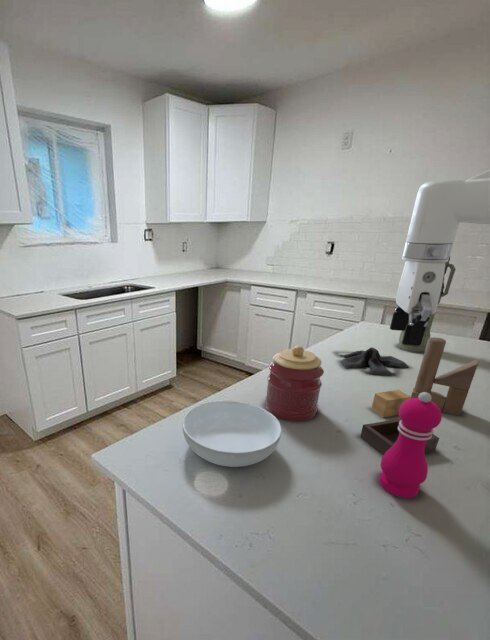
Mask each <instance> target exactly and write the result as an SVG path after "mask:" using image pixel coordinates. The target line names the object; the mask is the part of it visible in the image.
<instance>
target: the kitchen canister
mask: <svg viewBox="0 0 490 640" xmlns="http://www.w3.org/2000/svg"><path fill="white" fill-rule="evenodd" d="M321 365H322V360H321V358H320V357H318V356H317V355H316V354H315V353H313V352H311V351H308V350H305V349H304V348H303V346H301V345H295V346H294V347H293V348H287V349H283V350H281V351H279V352H277V353H275V354H274V355H273V357H272V361H271V362H269V364H268V369H269V371H270V372H269V374H268V375H267V387H266V388H267V389H266V395H265V401H264V403H265V408H266V411H268V412H270V413H271V414H272V415H274V416H275V417H276V418H277V419H278V418H279V419H281V420H286V421H292V422H303V421H309V420H310V419H312V418H314V417H315V416H316V413H317V411H318V408H319V397H320V393H321V392H320V391H321V388H322V386H323V383H322V380H321V377H322V376H323V375H324V374H325V370H324V368H323V367H322V366H321Z"/></svg>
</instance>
